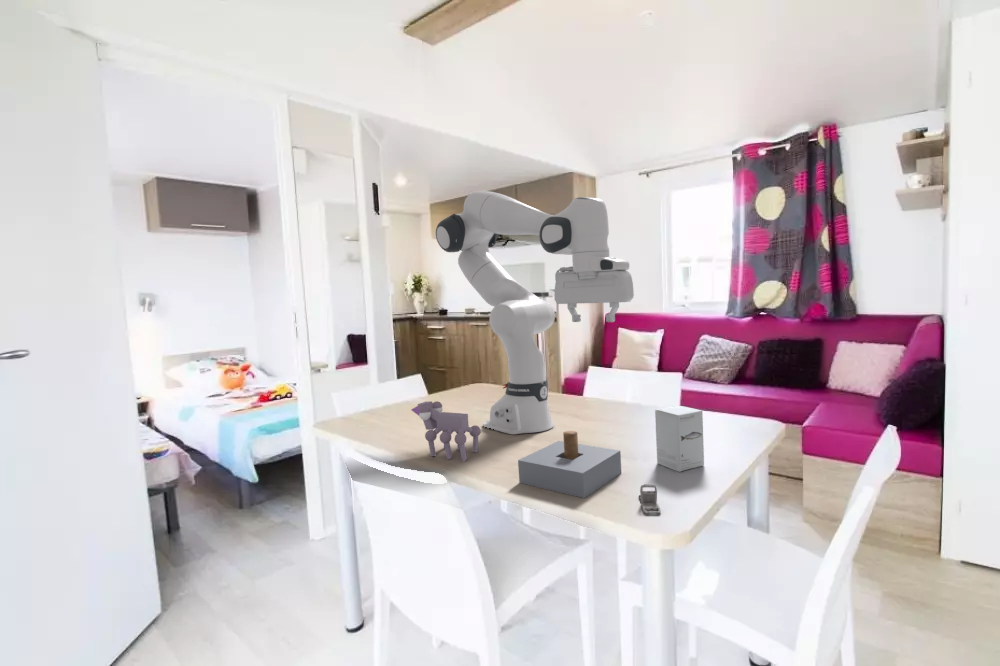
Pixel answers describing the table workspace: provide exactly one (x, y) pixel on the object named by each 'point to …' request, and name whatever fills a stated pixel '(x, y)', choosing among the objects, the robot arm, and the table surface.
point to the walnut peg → (570, 445)
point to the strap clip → (649, 500)
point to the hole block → (570, 469)
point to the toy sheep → (446, 427)
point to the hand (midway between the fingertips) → (593, 321)
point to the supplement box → (679, 437)
